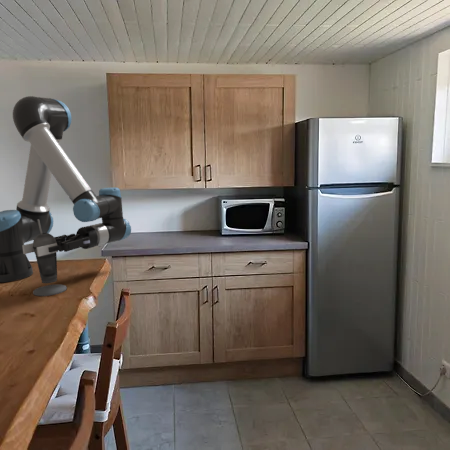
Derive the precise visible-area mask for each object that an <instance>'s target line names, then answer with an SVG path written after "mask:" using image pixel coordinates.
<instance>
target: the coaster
mask: <svg viewBox="0 0 450 450" xmlns="http://www.w3.org/2000/svg"><path fill="white" fill-rule="evenodd" d="M67 288H68V287H67V285H65V284H62V283H61V284H60V283H59V284H57V283H56V284H47V285H43V286H39V287H36V288H35V289H33V291H32V295H34V296H35V297H49V296H55V295H58V294H62V293H64V292H65V291H67Z"/></svg>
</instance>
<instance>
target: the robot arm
mask: <svg viewBox="0 0 450 450" xmlns="http://www.w3.org/2000/svg"><path fill="white" fill-rule="evenodd" d="M12 109H13V110H12V119H13V124H14V126H15V128H16V130H17V131H18V134H19V136H21V138H22V139H23V141H24V142H28V143H29V144H30V147H29V153H28V154H29V155H28V162H27V168H26V175H25V178H24V179H25V181H24V187H23V193H22V200H20V201H18V202H17V203H16V209H7V210H2V211H0V283H9V282H15V281H18V280H19V281H20V280H22V279H25V278H28V277H30V276H32V275H33V273H34V270H33V266H32V263H31V262H30V260H29V259H28V257H27V254H31V253H34V249H33V242H32V241H34V239H35V237H36V236H37V235H39V234H41V233H40V228H39V224H38V220H37V219H39V221H40V225H41V229H42V233H49V234H50V232H51V231H52V229H53V226H54V217H53V216H52V212H50V211H51V210H50V209H51V207H49V205H48V204H47V201H48V196H49V191H50V185H51V180H52V179H51V178H52V176H53V177H54V178H55V180H56V181H57V182H58V184H59V186H60V187H61V188H62V189H63V191H64V192H65V195H67V197H68V198H69V200H70V201H71V202H72V204H73V206H72V212H73V216H74V217H75V218H76V220H78V221H79V222H81V223H89V222H94V221H96V220H99V219H101V222H100V223H95V224H90V225H87V226H81V227H80V228H78V229H77V231H76V233H70V234H67V235H66V234H62V235H58V236H53V237H54V238H55V239H56V242H57V243H54V244H50V245H46V246H41V247H37V255H38V256H43V255H47V254H51V253H55V252H56V253H58V252H59V253H60V252H63V251H64V252H65V253H66V252H69V251H70V252H71V251H73V250H76V249H79V248H81V249H84V250H88V249H91V248H94V247H98V248H100V247H102V246H103V245H106V244H110V243H114V242H120V241H123V240H125V239H127V238H129V237H130V235H131V232H132V226H131V225H130V222H129V221H128V220H127V219H126V218H124V215H123V214H124V213H123V212H124V211H123V202H122V201H123V200H122V195H121V194H122V193H121V189H120V188H119V187H115V186H114V187H102V188H100V189H99V190H98V195H96V194H95V192H94V191H93V190H92V188H91V186H90V185H89V184H88V182H87V181H86V180H85V179H84V177H83V175H82V173H80V171H79V169H77V167H76V165H75V164H74V163H73V162H72V160H71V158H70V157H69V156H68V154H67V153H66V151H65V150H64V149H63V147H62V146H61V144H60V143H59V142H61V141H62V140H63V136H64V132H66V131H67V130H68V129H69V128H70V127H71V124H72V113H71V111H70V109H69V107H68V106H67V104H65V103H64V102H63V101H61V100H59V99H55V98H51V97H40V96H33V95H32V96H31V95H30V96H25V97H22V98H20V99H19V100H17V102H16V103H15V104H14V107H13V108H12ZM28 242H32V243H28ZM25 243H27V244H25Z"/></svg>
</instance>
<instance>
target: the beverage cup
mask: <svg viewBox="0 0 450 450" xmlns="http://www.w3.org/2000/svg"><path fill="white" fill-rule="evenodd" d="M37 220H38V224H39V228H40V233H41V234H39V235H37V236H36V237H35V239H34V240H32V241H33V242H32V243H33V249H34V252H33V253H34V255H35V259H36V263H37V267H38V272H39V277H40V280H41V283H42V284H52V283H55V282H57V281H58V263H57V262H58V259H57V256H58V255H57V252H55V253H51V254H47V255H43V256H38V255H37V247H41V246H46V245H50V244H54V243H57V242H56V239H55V238H54V237H55V236H53V235H52V234H51V233H50V232H49V233H42V229H41V225H40V221H39V219H37Z"/></svg>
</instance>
